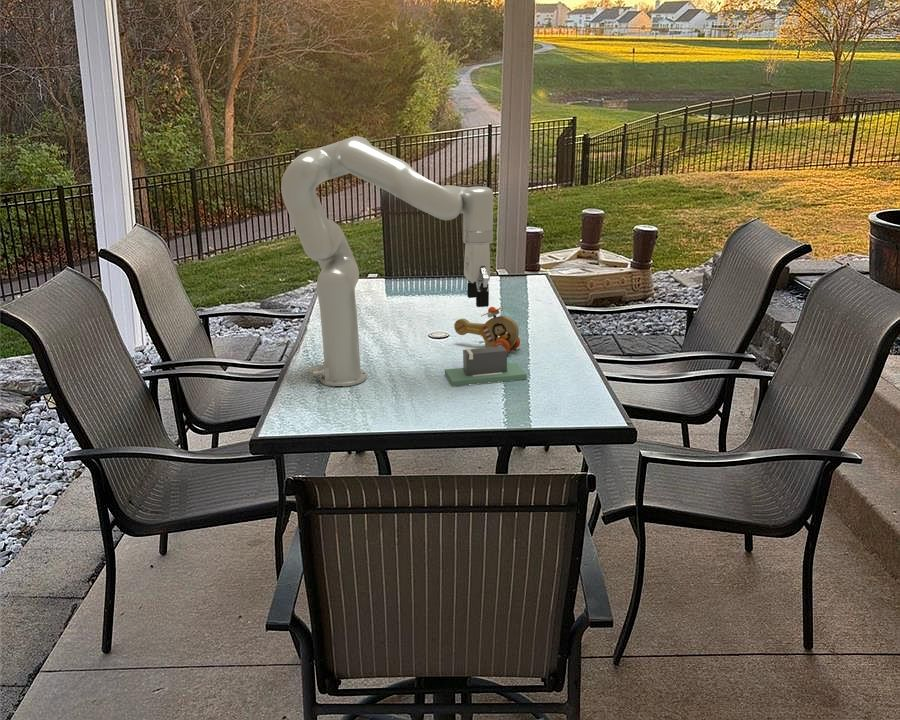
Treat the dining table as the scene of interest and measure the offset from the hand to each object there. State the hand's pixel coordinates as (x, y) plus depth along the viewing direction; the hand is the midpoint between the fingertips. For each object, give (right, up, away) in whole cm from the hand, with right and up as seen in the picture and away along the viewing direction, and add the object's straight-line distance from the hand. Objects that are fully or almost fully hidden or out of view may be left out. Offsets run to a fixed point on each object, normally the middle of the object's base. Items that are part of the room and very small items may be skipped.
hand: (477, 301), depth 227 cm
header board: (+2, -20, +6) cm, 21 cm away
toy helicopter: (+4, -12, +30) cm, 32 cm away
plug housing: (+2, -18, +6) cm, 19 cm away
